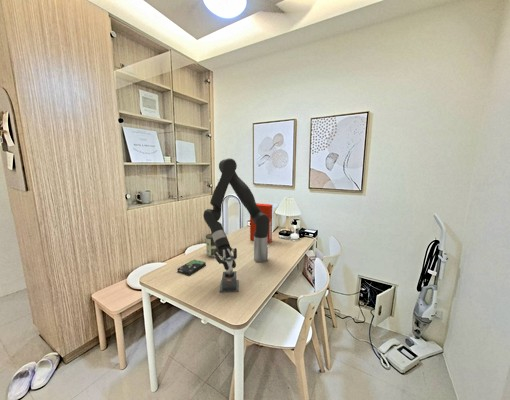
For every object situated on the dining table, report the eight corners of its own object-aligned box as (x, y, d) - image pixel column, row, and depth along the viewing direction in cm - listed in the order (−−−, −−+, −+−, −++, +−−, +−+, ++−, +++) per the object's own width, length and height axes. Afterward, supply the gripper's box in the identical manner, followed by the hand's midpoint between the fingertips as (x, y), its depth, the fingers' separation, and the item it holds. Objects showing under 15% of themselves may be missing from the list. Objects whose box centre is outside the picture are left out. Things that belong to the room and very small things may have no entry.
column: (234, 277, 117) (234, 255, 115) (234, 282, 112) (233, 259, 110) (225, 278, 116) (224, 255, 114) (224, 283, 112) (224, 259, 109)
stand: (238, 281, 120) (238, 269, 119) (238, 291, 110) (238, 279, 109) (221, 281, 119) (220, 270, 118) (219, 292, 110) (219, 280, 108)
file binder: (268, 243, 177) (269, 206, 172) (250, 240, 184) (250, 204, 178) (271, 240, 185) (272, 204, 179) (253, 237, 191) (253, 202, 186)
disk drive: (189, 276, 126) (206, 266, 139) (189, 272, 125) (206, 262, 138) (177, 272, 130) (194, 262, 143) (176, 268, 130) (193, 258, 143)
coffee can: (222, 251, 161) (222, 233, 159) (217, 257, 151) (216, 238, 149) (209, 250, 163) (209, 232, 161) (204, 255, 153) (203, 237, 151)
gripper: (210, 239, 112) (220, 269, 105) (234, 234, 120) (245, 262, 112) (207, 245, 118) (216, 275, 110) (229, 240, 126) (240, 267, 118)
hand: (231, 268), depth 111 cm, fingers closed on column, 3 cm apart
